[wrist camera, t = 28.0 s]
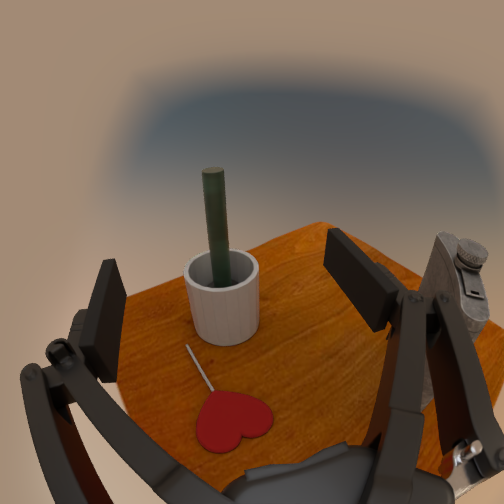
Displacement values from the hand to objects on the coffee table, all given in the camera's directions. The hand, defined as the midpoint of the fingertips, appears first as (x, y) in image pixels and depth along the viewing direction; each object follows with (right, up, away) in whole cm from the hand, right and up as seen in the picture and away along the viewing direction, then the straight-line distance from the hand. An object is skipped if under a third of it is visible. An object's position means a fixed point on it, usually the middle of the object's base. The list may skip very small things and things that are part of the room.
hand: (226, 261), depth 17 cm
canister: (-2, -9, +21) cm, 23 cm away
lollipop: (-3, -15, +12) cm, 19 cm away
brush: (-2, -8, +21) cm, 23 cm away
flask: (+21, -14, +12) cm, 28 cm away
